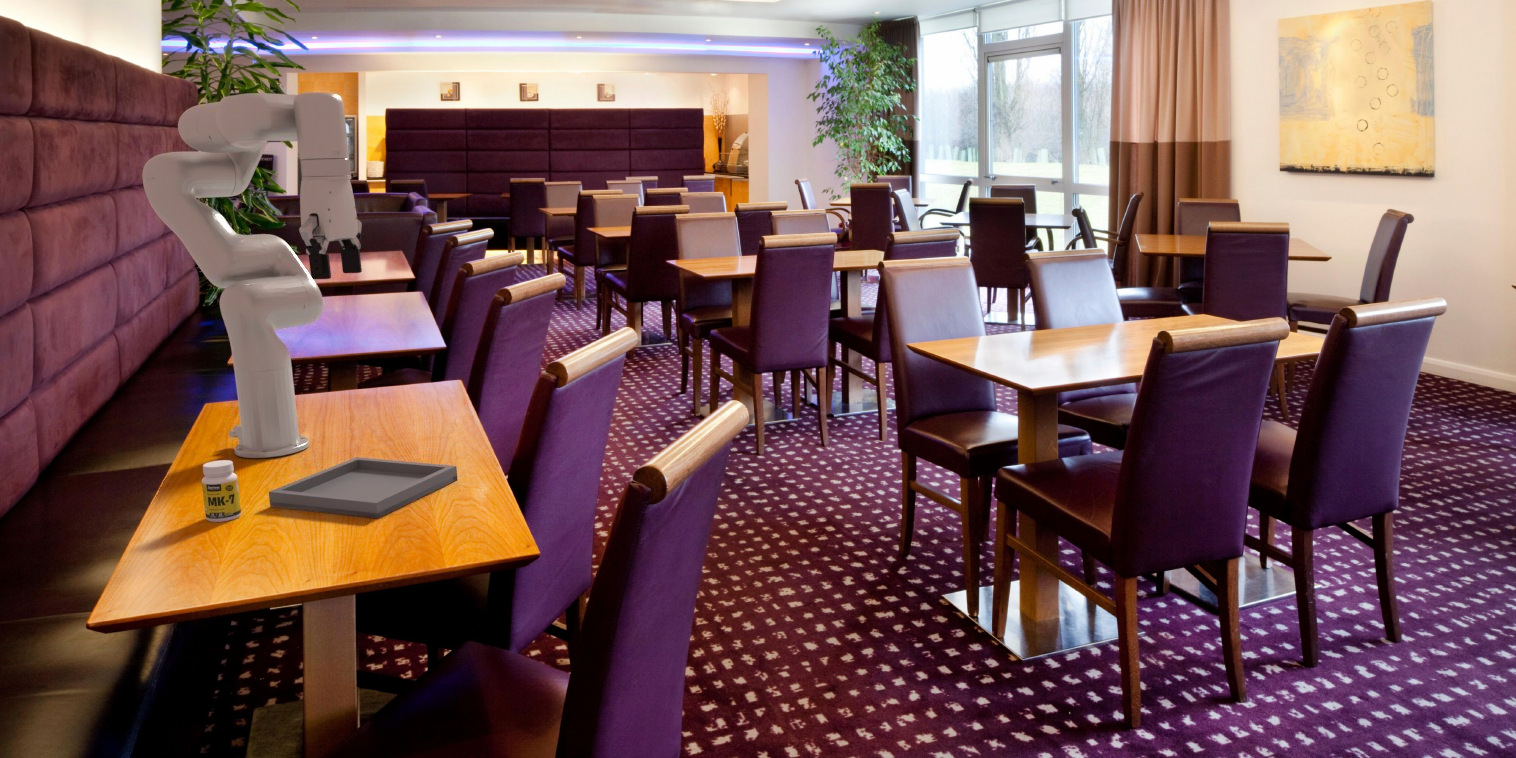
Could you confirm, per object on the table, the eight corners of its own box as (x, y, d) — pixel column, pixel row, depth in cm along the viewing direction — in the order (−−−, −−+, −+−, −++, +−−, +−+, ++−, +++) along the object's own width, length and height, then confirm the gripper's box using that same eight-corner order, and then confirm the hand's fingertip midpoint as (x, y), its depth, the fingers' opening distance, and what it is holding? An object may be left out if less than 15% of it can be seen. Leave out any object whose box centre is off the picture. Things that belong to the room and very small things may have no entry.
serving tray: (270, 506, 163) (268, 491, 162) (358, 470, 181) (356, 457, 181) (377, 518, 156) (376, 502, 156) (457, 479, 175) (456, 465, 174)
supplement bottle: (206, 524, 155) (199, 469, 153) (206, 515, 159) (199, 462, 157) (242, 519, 157) (235, 464, 155) (241, 510, 161) (234, 457, 159)
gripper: (332, 171, 181) (343, 271, 184) (273, 172, 164) (286, 281, 168) (373, 170, 180) (383, 270, 183) (318, 170, 163) (330, 281, 166)
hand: (337, 275), depth 175 cm, fingers open, 9 cm apart
